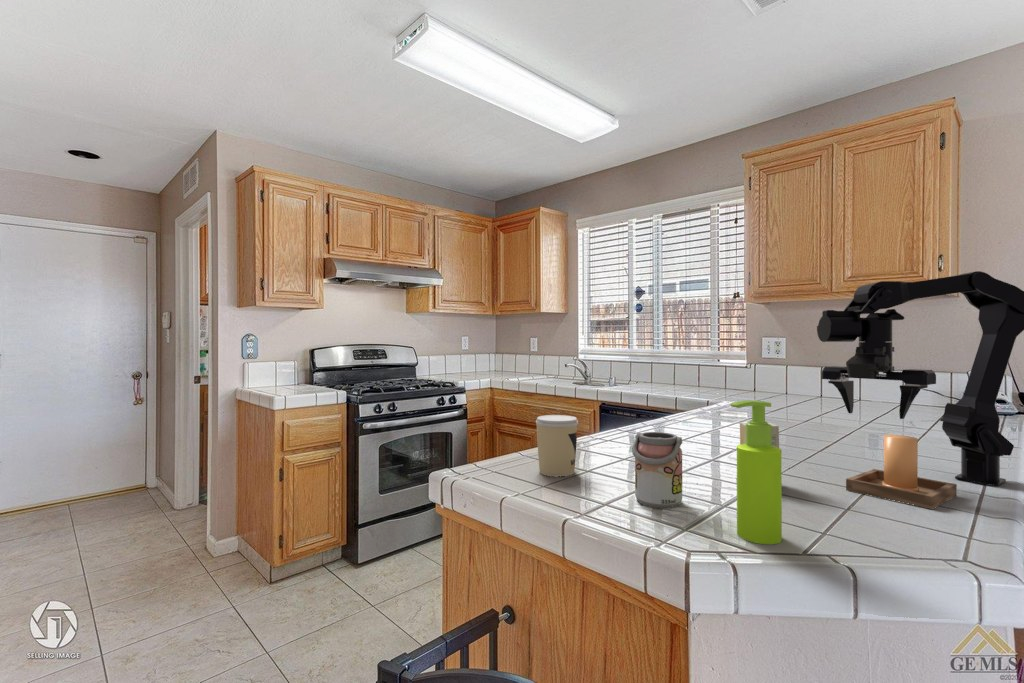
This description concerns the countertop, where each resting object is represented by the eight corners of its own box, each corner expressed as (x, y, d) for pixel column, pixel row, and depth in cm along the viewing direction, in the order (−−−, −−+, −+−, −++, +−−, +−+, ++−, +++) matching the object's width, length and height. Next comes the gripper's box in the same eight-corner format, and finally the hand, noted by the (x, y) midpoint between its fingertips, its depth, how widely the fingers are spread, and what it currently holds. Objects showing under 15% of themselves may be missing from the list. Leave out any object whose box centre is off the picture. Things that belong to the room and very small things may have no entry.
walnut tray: (874, 479, 101) (874, 469, 101) (956, 496, 90) (956, 484, 90) (846, 490, 93) (846, 478, 93) (932, 509, 83) (932, 496, 83)
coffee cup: (580, 478, 102) (580, 421, 102) (536, 478, 102) (536, 421, 102) (575, 466, 112) (575, 414, 112) (535, 466, 112) (535, 414, 112)
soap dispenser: (722, 529, 74) (722, 399, 74) (765, 528, 75) (765, 398, 75) (744, 545, 68) (743, 403, 68) (790, 543, 69) (790, 403, 69)
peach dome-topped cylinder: (883, 484, 95) (883, 433, 95) (919, 489, 92) (919, 436, 92) (881, 490, 91) (881, 437, 91) (918, 496, 88) (918, 441, 88)
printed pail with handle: (674, 515, 80) (674, 442, 80) (625, 506, 85) (625, 437, 85) (688, 499, 88) (687, 433, 88) (642, 492, 93) (642, 429, 93)
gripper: (809, 342, 106) (809, 413, 105) (916, 342, 90) (916, 426, 90) (833, 342, 112) (833, 409, 112) (936, 342, 96) (937, 420, 96)
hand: (875, 415), depth 102 cm, fingers open, 9 cm apart
